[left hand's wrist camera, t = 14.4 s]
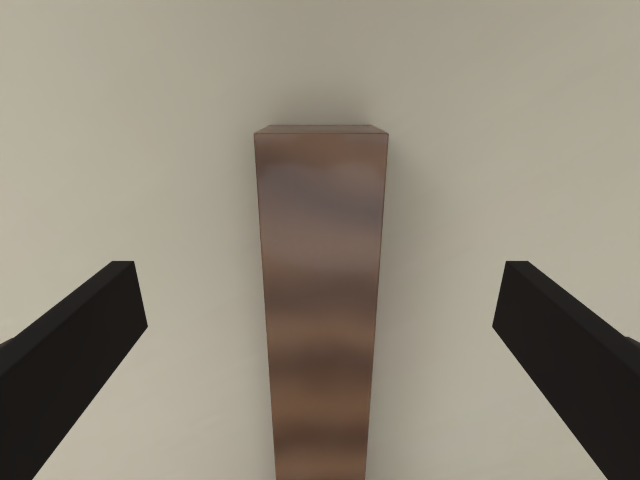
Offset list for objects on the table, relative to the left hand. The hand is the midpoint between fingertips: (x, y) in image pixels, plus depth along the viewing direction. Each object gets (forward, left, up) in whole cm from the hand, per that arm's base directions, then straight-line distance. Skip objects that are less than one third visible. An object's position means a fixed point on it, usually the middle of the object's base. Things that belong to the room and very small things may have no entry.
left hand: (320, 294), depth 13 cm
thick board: (+22, -5, -20) cm, 31 cm away
